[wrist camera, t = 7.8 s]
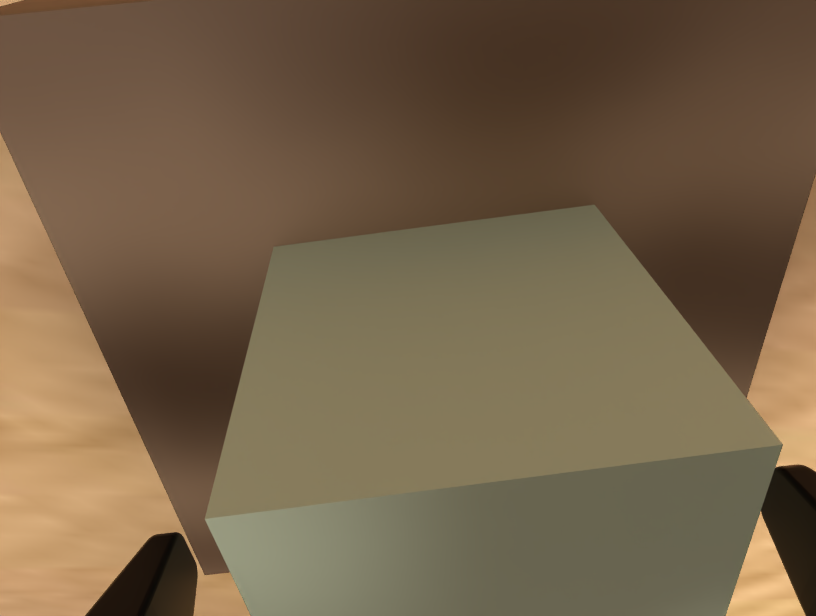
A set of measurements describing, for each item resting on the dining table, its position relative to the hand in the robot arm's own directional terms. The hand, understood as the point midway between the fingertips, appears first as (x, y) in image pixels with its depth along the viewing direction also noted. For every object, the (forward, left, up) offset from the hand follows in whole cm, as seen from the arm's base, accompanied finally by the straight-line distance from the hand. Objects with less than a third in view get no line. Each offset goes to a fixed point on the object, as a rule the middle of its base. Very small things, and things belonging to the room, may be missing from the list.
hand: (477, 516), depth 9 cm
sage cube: (0, 0, -4) cm, 4 cm away
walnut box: (0, 0, -8) cm, 8 cm away
